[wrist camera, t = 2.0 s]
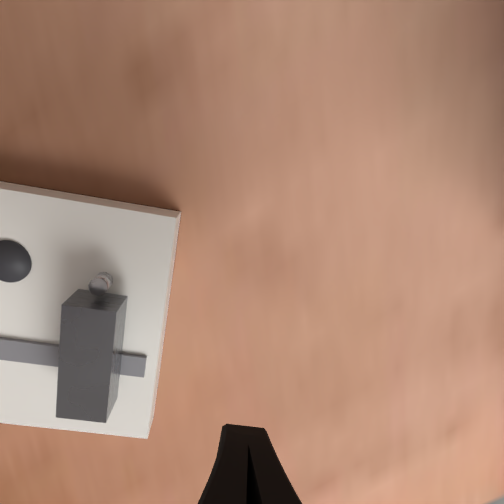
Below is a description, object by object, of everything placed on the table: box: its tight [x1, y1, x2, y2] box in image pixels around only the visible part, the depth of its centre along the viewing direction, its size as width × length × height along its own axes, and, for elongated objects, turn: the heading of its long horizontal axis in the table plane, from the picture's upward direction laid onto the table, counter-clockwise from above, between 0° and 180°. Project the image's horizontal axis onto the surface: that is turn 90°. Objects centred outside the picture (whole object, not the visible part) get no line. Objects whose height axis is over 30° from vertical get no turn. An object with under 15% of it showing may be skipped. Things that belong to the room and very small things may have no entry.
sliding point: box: [56, 272, 128, 423], centre depth 15 cm, size 2×6×2 cm, turn 170°
